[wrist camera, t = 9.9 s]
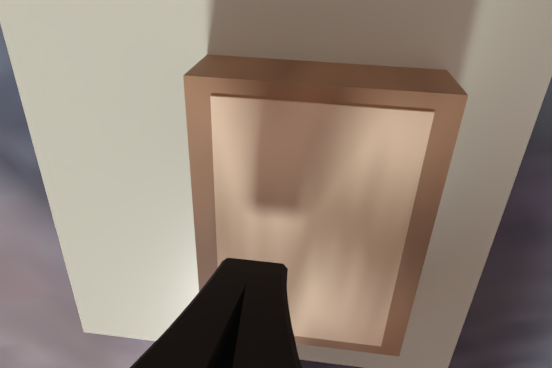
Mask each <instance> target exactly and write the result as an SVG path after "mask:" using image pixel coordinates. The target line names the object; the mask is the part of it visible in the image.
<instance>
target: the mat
mask: <svg viewBox="0 0 552 368" xmlns="http://www.w3.org/2000/svg"><path fill="white" fill-rule="evenodd" d="M0 23H1V27H2V31H3V34H4V38H5V42H6V46H7V49H8V53H9V57H10V60H11V64H12V68H13V71H14V75H15V79H16V83H17V86H18V90H19V94H20V97H21V101H22V105H23V108H24V112H25V116H26V120H27V123H28V127H29V131H30V134H31V138H32V142H33V145H34V149H35V153H36V157H37V160H38V164H39V168H40V171H41V175H42V179H43V183H44V186H45V190H46V194H47V197H48V201H49V205H50V208H51V212H52V216H53V220H54V223H55V227H56V231H57V234H58V238H59V242H60V245H61V249H62V253H63V257H64V260H65V264H66V268H67V271H68V275H69V279H70V283H71V286H72V290H73V294H74V297H75V301H76V305H77V308H78V312H79V316H80V320H81V323H82V327H83V331H84V332H87V333H95V334H103V335H111V336H119V337H127V338H135V339H142V340H150V341H156V340H157V339H158V338H159V337H160V336H161V335H162V334H163V333H164V332H165V331H166V330H167V329H168V328H169V326H170V325H171V324H172V323H173V322H174V321H175V320H176V318H177V317H178V316H179V315H180V314H181V313H182V312H183V310H184V309H185V308H186V307H187V306H188V305H189V304H190V302H191V301H192V300H193V299H194V297H195V296H196V295H197V294H198V293H199V284H198V270H197V256H196V243H195V229H194V216H193V202H192V189H191V175H190V161H189V148H188V134H187V121H186V107H185V94H184V80H183V75H184V74H185V73H187V72H188V71H189V70H190V69H191V68H192V67H193V66H195V65H196V64H197V63H198V62H199V61H200V60H201V59H203V58H204V57H205V56H206V55H207V54H209V55H224V56H239V57H255V58H270V59H286V60H301V61H317V62H332V63H348V64H363V65H379V66H394V67H410V68H425V69H440V70H447V71H448V72H449V73H450V74H451V75H452V77H453V78H454V79H455V80H456V81H457V83H458V84H459V85H460V86H461V87H462V88H463V90H464V91H465V92H466V93H467V94H468V99H467V102H466V106H465V110H464V114H463V117H462V121H461V125H460V129H459V133H458V136H457V140H456V144H455V148H454V151H453V155H452V159H451V163H450V167H449V170H448V174H447V178H446V182H445V185H444V189H443V193H442V197H441V201H440V204H439V208H438V212H437V216H436V219H435V223H434V227H433V231H432V235H431V238H430V242H429V246H428V250H427V254H426V257H425V261H424V265H423V269H422V272H421V276H420V280H419V284H418V288H417V291H416V295H415V299H414V303H413V306H412V310H411V314H410V318H409V322H408V325H407V329H406V333H405V337H404V340H403V344H402V348H401V352H400V356H391V355H383V354H375V353H367V352H359V351H351V350H343V349H335V348H327V347H319V346H311V345H303V344H296V347H297V352H298V356H299V359H300V360H308V361H315V362H323V363H331V364H339V365H347V366H355V367H363V368H448V367H449V364H450V361H451V358H452V355H453V352H454V350H455V347H456V344H457V341H458V338H459V336H460V333H461V330H462V327H463V324H464V322H465V319H466V316H467V313H468V310H469V308H470V305H471V302H472V299H473V296H474V293H475V291H476V288H477V285H478V282H479V279H480V277H481V274H482V271H483V268H484V265H485V263H486V260H487V257H488V254H489V251H490V248H491V246H492V243H493V240H494V237H495V234H496V232H497V229H498V226H499V223H500V220H501V218H502V215H503V212H504V209H505V206H506V204H507V201H508V198H509V195H510V192H511V189H512V187H513V184H514V181H515V178H516V175H517V173H518V170H519V167H520V164H521V161H522V159H523V156H524V153H525V150H526V147H527V145H528V142H529V139H530V136H531V133H532V130H533V128H534V125H535V122H536V119H537V116H538V114H539V111H540V108H541V105H542V102H543V100H544V97H545V94H546V91H547V88H548V85H549V83H550V80H551V77H552V0H0Z"/></svg>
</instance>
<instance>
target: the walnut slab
mask: <svg viewBox="0 0 552 368" xmlns="http://www.w3.org/2000/svg"><path fill="white" fill-rule="evenodd" d="M183 80H184V94H185V107H186V121H187V134H188V148H189V161H190V175H191V189H192V202H193V216H194V229H195V243H196V256H197V270H198V284H199V291H200V290H201V289H202V288H203V286H204V285H205V284H206V283H207V281H208V280H209V279H210V277H211V276H212V275H213V273H214V272H215V271H216V269H217V268H218V267H219V265H220V264H221V262H222V261H223V260H225V259H226V258H236V259H245V260H255V261H264V262H273V263H282V264H284V265H285V266H286V267H287V268H288V273H287V296H288V305H289V312H290V318H291V324H292V329H293V333H294V338H295V342H296V344H303V345H311V346H319V347H327V348H335V349H343V350H351V351H359V352H367V353H375V354H383V355H391V356H400V352H401V348H402V344H403V340H404V337H405V333H406V329H407V325H408V322H409V318H410V314H411V310H412V306H413V303H414V299H415V295H416V291H417V288H418V284H419V280H420V276H421V272H422V269H423V265H424V261H425V257H426V254H427V250H428V246H429V242H430V238H431V235H432V231H433V227H434V223H435V219H436V216H437V212H438V208H439V204H440V201H441V197H442V193H443V189H444V185H445V182H446V178H447V174H448V170H449V167H450V163H451V159H452V155H453V151H454V148H455V144H456V140H457V136H458V133H459V129H460V125H461V121H462V117H463V114H464V110H465V106H466V102H467V99H468V94H467V93H466V92H465V91H464V90H463V88H462V87H461V86H460V85H459V84H458V83H457V81H456V80H455V79H454V78H453V77H452V75H451V74H450V73H449V72H448V71H447V70H440V69H425V68H410V67H394V66H379V65H363V64H348V63H332V62H317V61H301V60H286V59H270V58H255V57H239V56H224V55H209V54H207V55H206V56H205V57H204V58H203V59H201V60H200V61H199V62H198V63H197V64H196V65H195V66H193V67H192V68H191V69H190V70H189V71H188V72H187V73H185V74H184V75H183Z"/></svg>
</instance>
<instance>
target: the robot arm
mask: <svg viewBox="0 0 552 368" xmlns="http://www.w3.org/2000/svg"><path fill="white" fill-rule="evenodd" d="M287 273H288V268H287V267H286V266H285V265H284V264H282V263H273V262H264V261H255V260H245V259H236V258H226V259H225V260H223V261H222V262H221V264H220V265H219V267H218V268H217V269H216V271H215V272H214V273H213V275H212V276H211V277H210V279H209V280H208V281H207V283H206V284H205V285H204V286H203V288H202V289H201V290H200V291H199V293H198V294H197V295H196V296H195V297H194V299H193V300H192V301H191V302H190V304H189V305H188V306H187V307H186V308H185V309H184V310H183V312H182V313H181V314H180V315H179V316H178V317H177V318H176V320H175V321H174V322H173V323H172V324H171V325H170V326H169V328H168V329H167V330H166V331H165V332H164V333H163V334H162V335H161V336H160V337H159V338H158V339H157V340H156V341H155V342H154V343H153V344H152V346H151V347H150V348H149V349H148V350H147V351H146V352H145V353H144V354H143V355H142V356H141V357H140V358H139V359H138V360H137V361H136V362H135V363H134V364H133V365H132V366H131V367H130V368H302V367H301V363H300V359H299V356H298V352H297V347H296V342H295V338H294V333H293V329H292V324H291V318H290V312H289V305H288V296H287Z"/></svg>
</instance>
